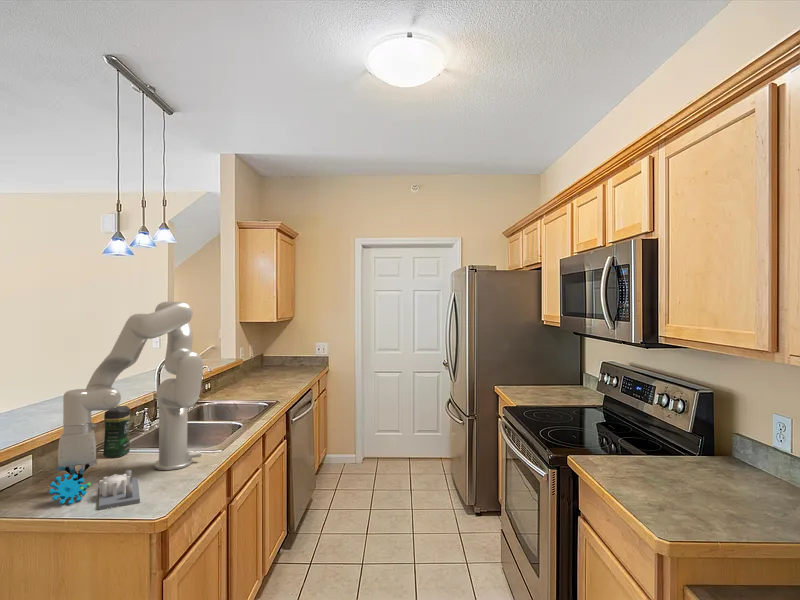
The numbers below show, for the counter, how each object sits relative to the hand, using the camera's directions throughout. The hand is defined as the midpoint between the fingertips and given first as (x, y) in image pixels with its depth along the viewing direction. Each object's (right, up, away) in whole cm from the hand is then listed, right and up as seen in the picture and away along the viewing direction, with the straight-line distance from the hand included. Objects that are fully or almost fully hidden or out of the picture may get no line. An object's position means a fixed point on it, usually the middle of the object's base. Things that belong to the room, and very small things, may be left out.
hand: (77, 486), depth 157 cm
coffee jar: (-8, -1, +36) cm, 37 cm away
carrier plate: (+15, -1, -4) cm, 16 cm away
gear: (+3, -2, -8) cm, 9 cm away
